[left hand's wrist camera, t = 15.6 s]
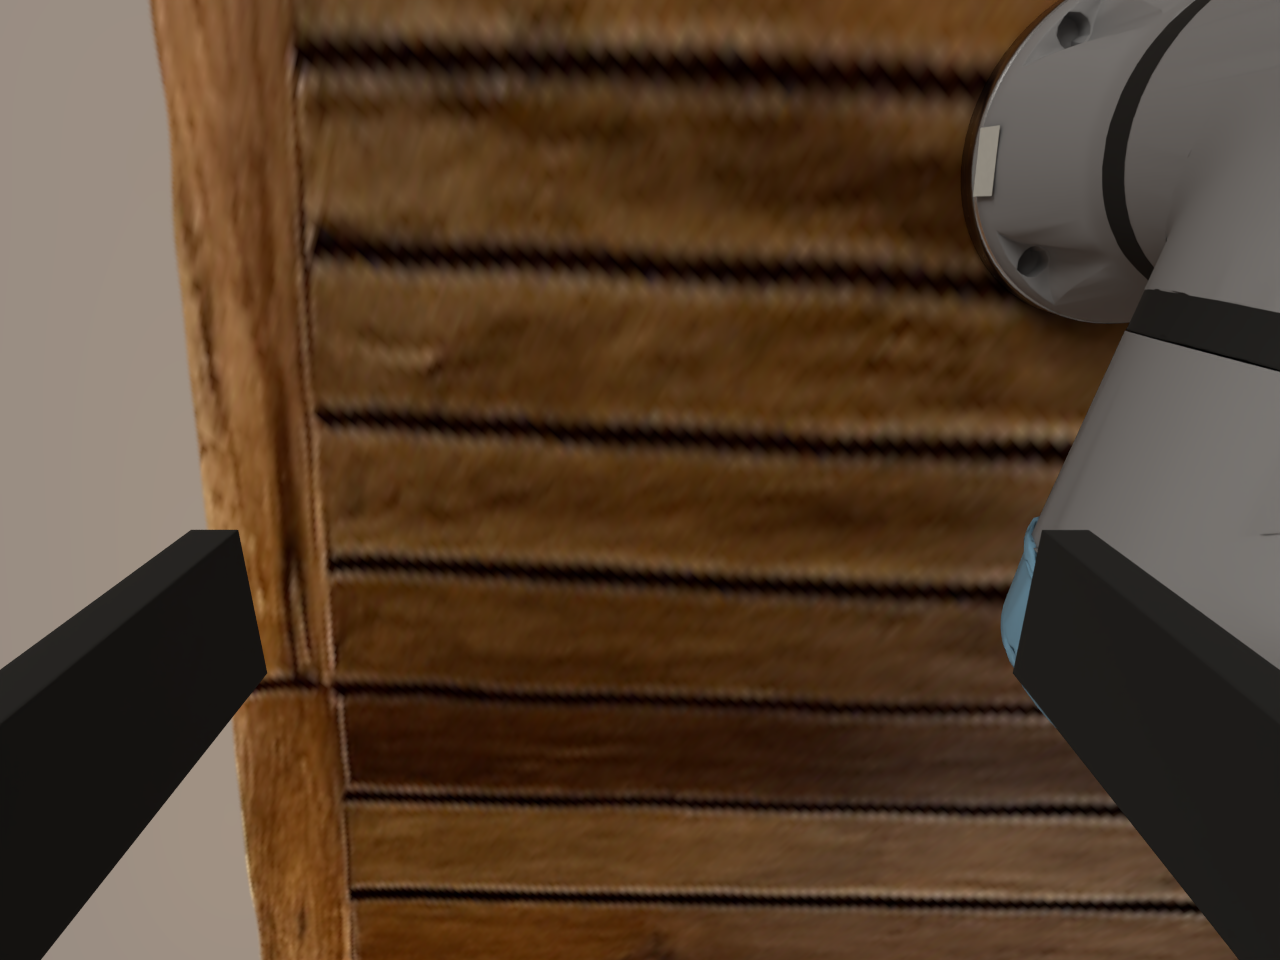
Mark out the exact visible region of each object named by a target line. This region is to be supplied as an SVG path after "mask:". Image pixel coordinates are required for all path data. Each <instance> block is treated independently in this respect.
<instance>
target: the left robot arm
mask: <svg viewBox="0 0 1280 960" xmlns="http://www.w3.org/2000/svg"><path fill="white" fill-rule="evenodd" d="M961 195H962V205H963V210H964V216H965V221H966V224H967V227H968V231H969V234H970V237H971V239H972V241H973V244H974V246H975V248H976V250H977V252H978V254H979V256H980V257H981V259H982V261H983V263H984V264H985V265H986V267H987V268H988V270H989V271H990V272H991V274H992V275H993V276H994V277H995V278H996V279H997V280H998V281H999V282H1000V284H1001V285H1003V286H1004V287H1005V288H1006V289H1007V290H1008V291H1010V292H1011V293H1012V294H1013V295H1015V296H1016V297H1018V298H1019V299H1021V300H1022V301H1024V302H1026V303H1028V304H1030V305H1031V306H1033V307H1035V308H1038V309H1040V310H1043V311H1046V312H1048V313H1052V314H1055V315H1059V316H1063V317H1066V318H1070V319H1074V320H1078V321H1084V322H1090V323H1104V324H1112V323H1127V322H1130V323H1129V325H1128V327H1127V329H1126V330H1129V331H1131V332H1129V331H1125V332H1124V334H1123V336H1122V338H1121V341H1120V343H1119V345H1118V347H1117V349H1116V352H1115V354H1114V356H1113V358H1112V360H1111V362H1110V365H1109V367H1108V369H1107V371H1106V373H1105V375H1104V378H1103V380H1102V382H1101V384H1100V386H1099V388H1098V391H1097V393H1096V395H1095V397H1094V399H1093V402H1092V404H1091V406H1090V408H1089V410H1088V412H1087V415H1086V417H1085V419H1084V421H1083V423H1082V425H1081V428H1080V430H1079V432H1078V434H1077V436H1076V438H1075V441H1074V443H1073V445H1072V447H1071V449H1070V451H1069V454H1068V456H1067V458H1066V460H1065V462H1064V465H1063V467H1062V469H1061V471H1060V473H1059V475H1058V478H1057V480H1056V482H1055V484H1054V486H1053V488H1052V491H1051V493H1050V495H1049V497H1048V499H1047V501H1046V504H1045V506H1044V508H1043V510H1042V512H1041V515H1040V516H1039V517H1036V518H1034V519H1033V520H1032V522H1031V523H1030V525H1029V526H1028V528H1027V531H1026V534H1025V538H1024V553H1023V556H1022V558H1021V561H1020V563H1019V566H1018V569H1017V571H1016V574H1015V576H1014V579H1013V582H1012V584H1011V587H1010V589H1009V592H1008V595H1007V597H1006V600H1005V602H1004V605H1003V610H1002V614H1001V635H1002V641H1003V645H1004V647H1005V650H1006V653H1007V655H1008V658H1009V661H1010V663H1011V664H1012V666H1013V667H1014V670H1013V674H1014V675H1015V677H1016V678H1017V679H1018V680H1019V682H1020V683H1021V684H1022V686H1023V688H1024V689H1025V691H1026V692H1027V694H1028V695H1029V696H1030V698H1031V699H1032V701H1033V702H1034V703H1035V704H1036V706H1037V707H1038V708H1039V709H1040V711H1041V712H1042V713H1043V714H1044V715H1045V716H1046V718H1047V719H1048V720H1049V721H1050V722H1051V723H1052V724H1053V725H1054V726H1055V728H1056V729H1057V730H1058V731H1059V732H1060V734H1061V735H1062V736H1063V737H1064V739H1065V740H1066V741H1067V742H1068V744H1069V745H1070V746H1071V747H1072V749H1073V750H1074V751H1075V753H1076V754H1077V755H1078V756H1079V758H1080V759H1081V760H1082V761H1083V763H1084V764H1085V765H1086V766H1087V768H1088V769H1089V770H1090V772H1091V773H1092V774H1093V775H1094V777H1095V778H1096V779H1097V780H1098V782H1099V783H1100V784H1101V785H1102V787H1103V788H1104V789H1105V791H1106V792H1107V793H1108V794H1109V796H1110V797H1111V798H1112V799H1113V801H1114V802H1115V803H1116V804H1117V806H1118V807H1119V808H1120V810H1121V811H1122V812H1123V813H1124V815H1125V816H1126V817H1127V818H1128V820H1129V821H1130V822H1131V823H1132V825H1133V826H1134V827H1135V828H1136V830H1137V831H1138V832H1139V834H1140V835H1141V836H1142V837H1143V839H1144V840H1145V841H1146V842H1147V844H1148V845H1149V846H1150V847H1151V849H1152V850H1153V851H1154V853H1155V854H1156V855H1157V856H1158V858H1159V859H1160V860H1161V861H1162V863H1163V864H1164V865H1165V866H1166V868H1167V869H1168V870H1169V872H1170V873H1171V874H1172V875H1173V877H1174V878H1175V879H1176V880H1177V882H1178V883H1179V884H1180V885H1181V887H1182V888H1183V889H1184V891H1185V892H1186V893H1187V894H1188V896H1189V897H1190V898H1191V899H1192V901H1193V902H1194V903H1195V904H1196V906H1197V907H1198V908H1199V910H1200V911H1201V912H1202V913H1203V915H1204V916H1205V917H1206V918H1207V920H1208V921H1209V922H1210V923H1211V925H1212V926H1213V927H1214V929H1215V930H1216V931H1217V932H1218V934H1219V935H1220V936H1221V937H1222V939H1223V940H1224V941H1225V942H1226V944H1227V945H1228V946H1229V948H1230V949H1231V950H1232V951H1233V953H1234V954H1235V955H1236V956H1237V958H1238V959H1239V960H1280V0H1059V1H1057V2H1056V3H1055V4H1053V5H1052V6H1051V7H1049V8H1048V9H1047V10H1045V11H1044V12H1043V13H1042V14H1041V15H1040V16H1039V17H1038V18H1036V19H1035V20H1034V21H1033V22H1032V23H1031V24H1030V25H1029V26H1028V27H1027V28H1026V29H1025V30H1024V31H1023V32H1022V33H1021V34H1020V35H1019V37H1018V38H1017V39H1016V40H1015V41H1014V43H1013V44H1012V45H1011V46H1010V48H1009V49H1008V50H1007V51H1006V53H1005V54H1004V55H1003V57H1002V58H1001V60H1000V61H999V63H998V64H997V66H996V67H995V69H994V70H993V72H992V74H991V76H990V77H989V79H988V81H987V83H986V84H985V86H984V89H983V91H982V93H981V95H980V97H979V99H978V101H977V104H976V107H975V109H974V112H973V115H972V118H971V120H970V124H969V128H968V131H967V135H966V139H965V144H964V150H963V155H962V166H961ZM1170 341H1171V342H1170ZM1174 342H1175V343H1174ZM1178 343H1179V344H1178ZM1182 344H1183V345H1182ZM1186 345H1187V346H1186ZM266 674H267V670H266V665H265V660H264V655H263V650H262V645H261V640H260V635H259V630H258V625H257V621H256V616H255V611H254V606H253V601H252V596H251V591H250V586H249V581H248V576H247V571H246V566H245V561H244V557H243V552H242V547H241V542H240V537H239V532H238V530H190V531H189V532H188V533H186V534H185V535H184V536H182V537H181V538H179V539H178V540H177V541H175V542H174V543H173V544H171V545H170V546H169V547H167V548H166V549H164V550H163V551H162V552H160V553H159V554H158V555H156V556H155V557H154V558H152V559H151V560H149V561H148V562H147V563H145V564H144V565H143V566H141V567H140V568H138V569H137V570H136V571H134V572H133V573H132V574H130V575H129V576H128V577H126V578H125V579H124V580H122V581H121V582H119V583H118V584H117V585H115V586H114V587H113V588H111V589H110V590H109V591H107V592H106V593H104V594H103V595H102V596H100V597H99V598H98V599H96V600H95V601H93V602H92V603H91V604H89V605H88V606H87V607H85V608H84V609H83V610H81V611H80V612H78V613H77V614H76V615H74V616H73V617H72V618H70V619H69V620H68V621H66V622H65V623H63V624H62V625H61V626H59V627H58V628H57V629H55V630H54V631H53V632H51V633H50V634H48V635H47V636H46V637H44V638H43V639H42V640H40V641H39V642H38V643H36V644H35V645H33V646H32V647H31V648H29V649H28V650H27V651H25V652H24V653H22V654H21V655H20V656H18V657H17V658H16V659H14V660H13V661H12V662H10V663H9V664H8V665H6V666H5V667H3V668H2V669H1V670H0V960H41V959H42V958H43V956H44V955H45V954H46V953H47V951H48V950H49V949H50V947H51V946H52V945H53V944H54V942H55V941H56V940H57V939H58V937H59V936H60V935H61V934H62V932H63V931H64V930H65V929H66V927H67V926H68V925H69V923H70V922H71V921H72V920H73V918H74V917H75V916H76V915H77V913H78V912H79V911H80V909H81V908H82V907H83V906H84V904H85V903H86V902H87V901H88V899H89V898H90V897H91V896H92V894H93V893H94V892H95V891H96V889H97V888H98V887H99V885H100V884H101V883H102V882H103V880H104V879H105V878H106V877H107V875H108V874H109V873H110V872H111V870H112V869H113V868H114V866H115V865H116V864H117V863H118V861H119V860H120V859H121V858H122V856H123V855H124V854H125V852H126V851H127V850H128V849H129V847H130V846H131V845H132V844H133V842H134V841H135V840H136V839H137V837H138V836H139V835H140V834H141V832H142V831H143V830H144V828H145V827H146V826H147V825H148V823H149V822H150V821H151V820H152V818H153V817H154V816H155V815H156V813H157V812H158V811H159V810H160V808H161V807H162V806H163V804H164V803H165V802H166V801H167V799H168V798H169V797H170V796H171V794H172V793H173V792H174V790H175V789H176V788H177V787H178V785H179V784H180V783H181V782H182V780H183V779H184V778H185V777H186V775H187V774H188V773H189V772H190V770H191V769H192V768H193V766H194V765H195V764H196V763H197V761H198V760H199V759H200V757H201V756H202V755H203V754H204V752H205V751H206V750H207V749H208V747H209V746H210V745H211V744H212V742H213V741H214V740H215V739H216V737H217V736H218V735H219V734H220V732H221V731H222V730H223V728H224V727H225V726H226V725H227V723H228V722H229V721H230V720H231V718H232V717H233V716H234V715H235V713H236V712H237V711H238V709H239V708H240V707H241V706H242V704H243V703H244V702H245V701H246V699H247V698H248V697H249V696H250V694H251V693H252V692H253V690H254V689H255V688H256V687H257V685H258V684H259V683H260V682H261V680H262V679H263V678H264V677H265V675H266Z"/></svg>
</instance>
